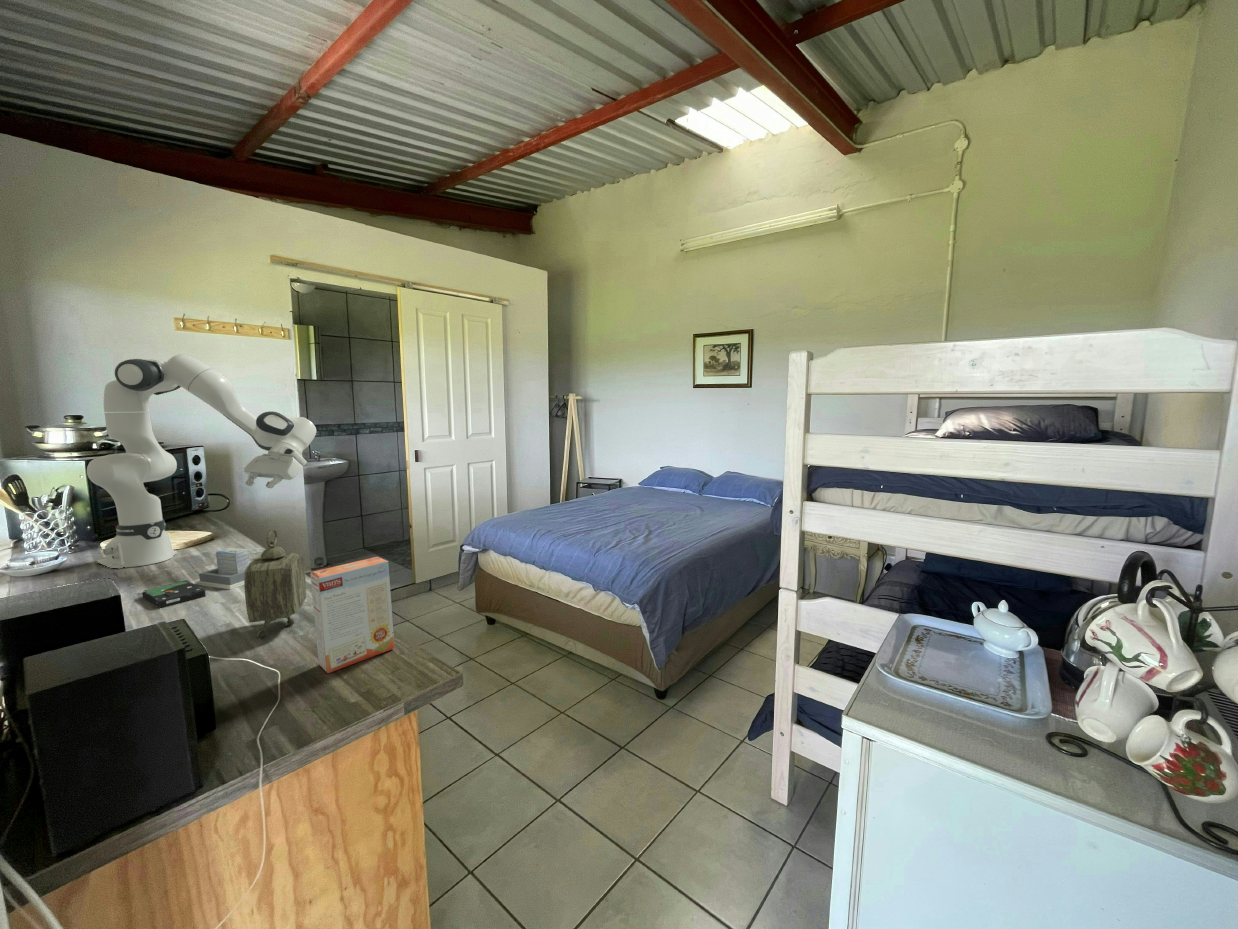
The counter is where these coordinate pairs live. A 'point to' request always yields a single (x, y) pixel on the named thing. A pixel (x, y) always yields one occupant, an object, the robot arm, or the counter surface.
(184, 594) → the disk drive
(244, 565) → the medicine box
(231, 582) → the dock
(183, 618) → the counter surface
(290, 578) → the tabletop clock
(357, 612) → the cracker box
